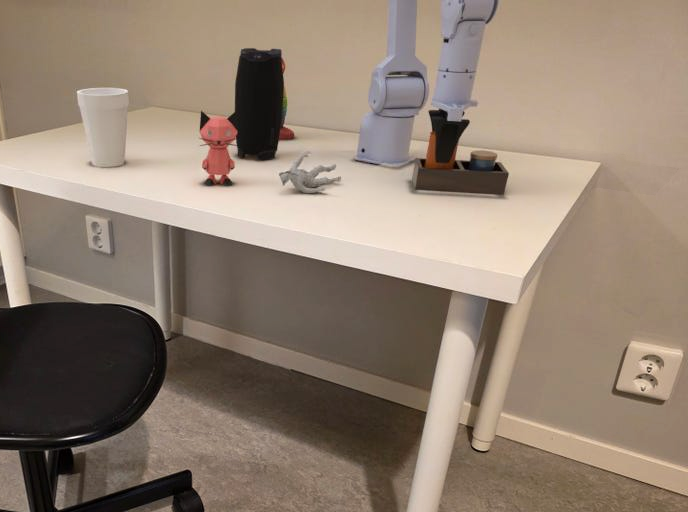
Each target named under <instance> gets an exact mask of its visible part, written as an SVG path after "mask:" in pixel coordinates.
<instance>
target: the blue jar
mask: <svg viewBox="0 0 688 512" xmlns="http://www.w3.org/2000/svg"><path fill="white" fill-rule="evenodd" d="M498 156H499V154H498V153H497V152H494V151H490V150H472V151H470V154H469V160H468V161H469V166H468V170H477V171H493V170H494V166H495V162H497V159H498Z"/></svg>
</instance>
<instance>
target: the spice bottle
mask: <svg viewBox="0 0 688 512" xmlns="http://www.w3.org/2000/svg"><path fill="white" fill-rule="evenodd" d="M435 141H436V140H435V131H433V132H432V131H430V134H429V139H428V145H427V151H426V157H425V158H426V162H425V168H438V169H453V167H454V162H455V160H456V157H457V151H458V146H459V142H460V140H459V141H458V143H457V145H456V147H455V150H454V153H453V155H452V157H451V160H450V162H449V163H436V161H435Z"/></svg>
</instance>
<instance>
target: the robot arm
mask: <svg viewBox="0 0 688 512" xmlns="http://www.w3.org/2000/svg"><path fill="white" fill-rule="evenodd" d="M499 1H500V0H442V2H441V3H440V19H441V26H440V27H441V28H440V37H441V38H442V42H441V43H442V45H441V51H440V55H439V61H438V68H437V74H436V78H435V85H434V91H433V96H432V98H431V101H430V106H431V107H435V108H437V109H429V110H428V115H429V116H428V117H429V119H430V125H431V132H433V131H435V140H436V141H435V161H436V163H449V162H450V160H451V157H452V155H453V153H454V150H455V147H456V145H457V143H458V144H459V142H460V139H461V137H462V135H463V133H464V132H465V130H466V129H467V128H468V127H469V125H470V124H471V121H470V120H469V119H468V118H467V119H466V118H463V117H464V116H465V114H466V113H465V111H466V110H467V109H469V108H471V107H473V108H474V107H478V104H479V102H478V100H477V99H472V94H473V89H474V84H475V80H476V79H475V78H476V75H477V69H478V64H479V59H480V54H481V50H482V45H483V39H484V34H485V29H486V25H488V24H489V23H490V22H492V20H493V19H494V17H495V15H496V13H497V12H498V11H497V10H498V7H499ZM417 16H418V0H388V1H387V34H386V35H387V36H386V37H387V38H386V39H387V40H386V57H385V59H384V60H382V61H381V62H380V63H379V64H378V65H376V67H375V68H374V69H373V70H372V71H371V77H370V84H369V88H368V94H367V100H368V104H369V108H370V110H371V111H368V112H366V114H365V115H364V116H363V118H362V120H361V123H360V127H359V136H358V142H357V143H358V144H357V151H356V156H355V157H354V160H355V161H359V162H364V163H370V164H375V165H382V164H386V165H390V166H396V167H399V166H401V165H404V164H407V163H409V162H411V161H415V158H416V157H414V156H413V157H412V156H409V155H410V148H411V142H412V136H413V130H414V123H415V118H416V116H419V115H420V114H419V113H420V112H421V110H423V109H424V107H425V106H426V104H427V103H428V100H429V96H430V83H429V81H428V80H429V79H428V67H427V66H426V64H424V62H423V61H422V60H420V58H418V57H417V56H416V44H417V42H416V41H417V19H418V18H417ZM458 141H459V142H458Z"/></svg>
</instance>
